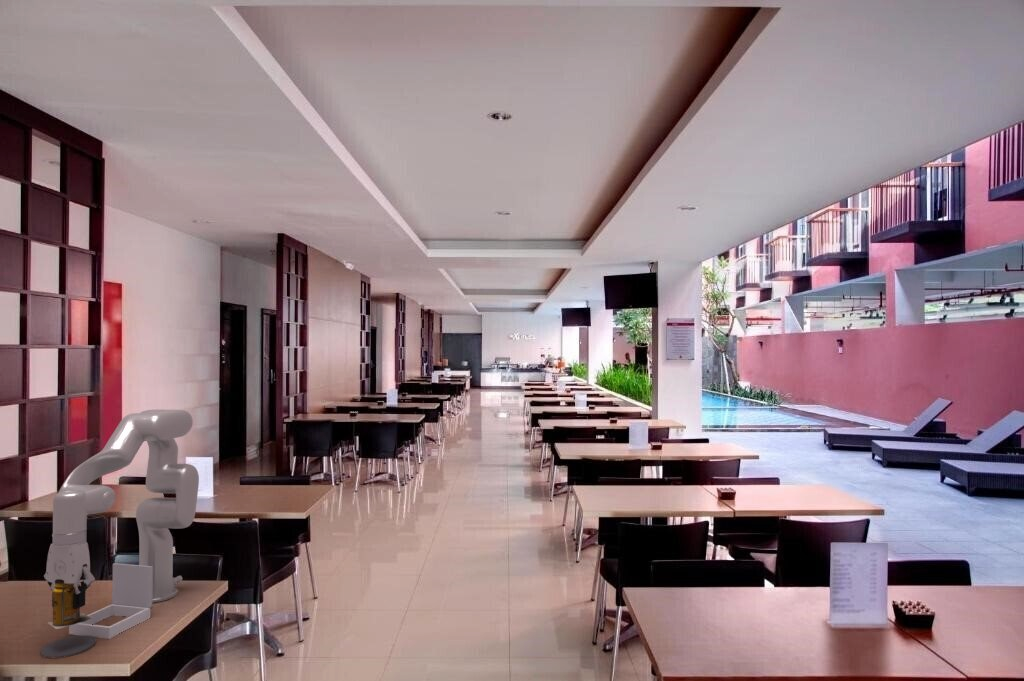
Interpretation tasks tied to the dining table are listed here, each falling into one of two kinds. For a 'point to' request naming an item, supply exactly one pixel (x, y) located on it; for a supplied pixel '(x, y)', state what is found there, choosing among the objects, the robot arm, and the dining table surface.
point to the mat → (68, 646)
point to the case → (122, 602)
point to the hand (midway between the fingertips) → (68, 605)
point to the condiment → (65, 606)
